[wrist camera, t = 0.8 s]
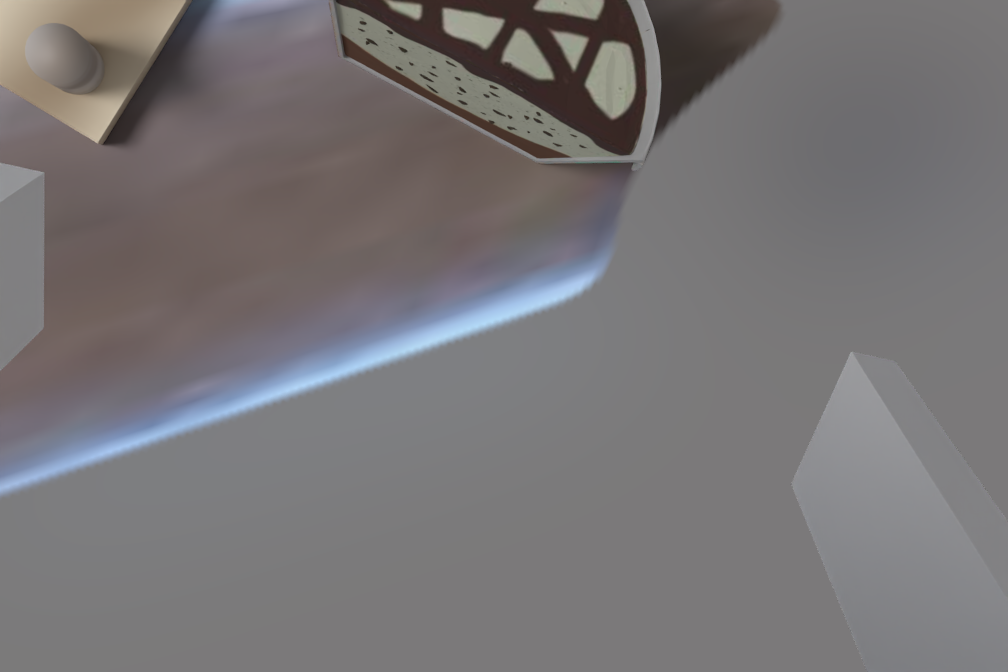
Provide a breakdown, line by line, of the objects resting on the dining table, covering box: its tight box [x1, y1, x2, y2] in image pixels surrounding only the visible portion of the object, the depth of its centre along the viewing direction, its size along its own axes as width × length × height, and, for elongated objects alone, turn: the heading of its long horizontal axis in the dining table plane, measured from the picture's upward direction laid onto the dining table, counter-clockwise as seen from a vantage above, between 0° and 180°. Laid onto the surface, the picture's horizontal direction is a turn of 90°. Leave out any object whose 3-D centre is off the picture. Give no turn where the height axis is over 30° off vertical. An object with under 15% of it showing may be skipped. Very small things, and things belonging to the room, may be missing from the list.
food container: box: [329, 0, 661, 171], centre depth 34 cm, size 12×6×10 cm, turn 64°
